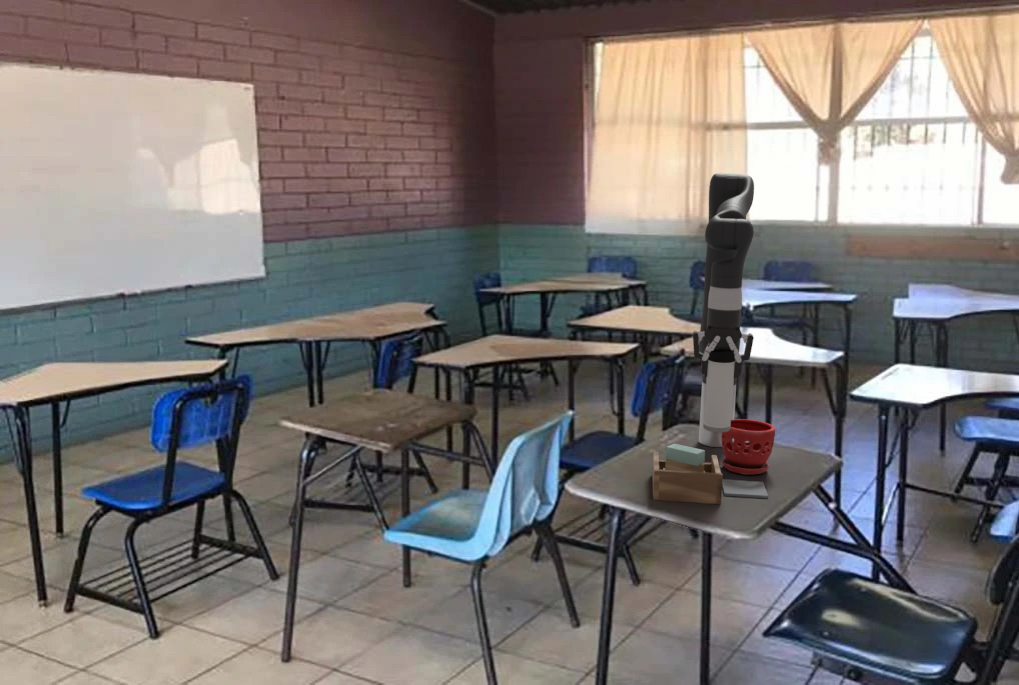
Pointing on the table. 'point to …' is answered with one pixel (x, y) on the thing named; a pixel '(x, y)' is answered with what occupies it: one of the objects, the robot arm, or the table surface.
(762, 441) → the plant pot
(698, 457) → the offcut top
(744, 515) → the table surface
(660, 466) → the wooden box
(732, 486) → the mat
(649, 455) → the table surface
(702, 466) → the offcut mid
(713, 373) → the travel mug
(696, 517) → the table surface
